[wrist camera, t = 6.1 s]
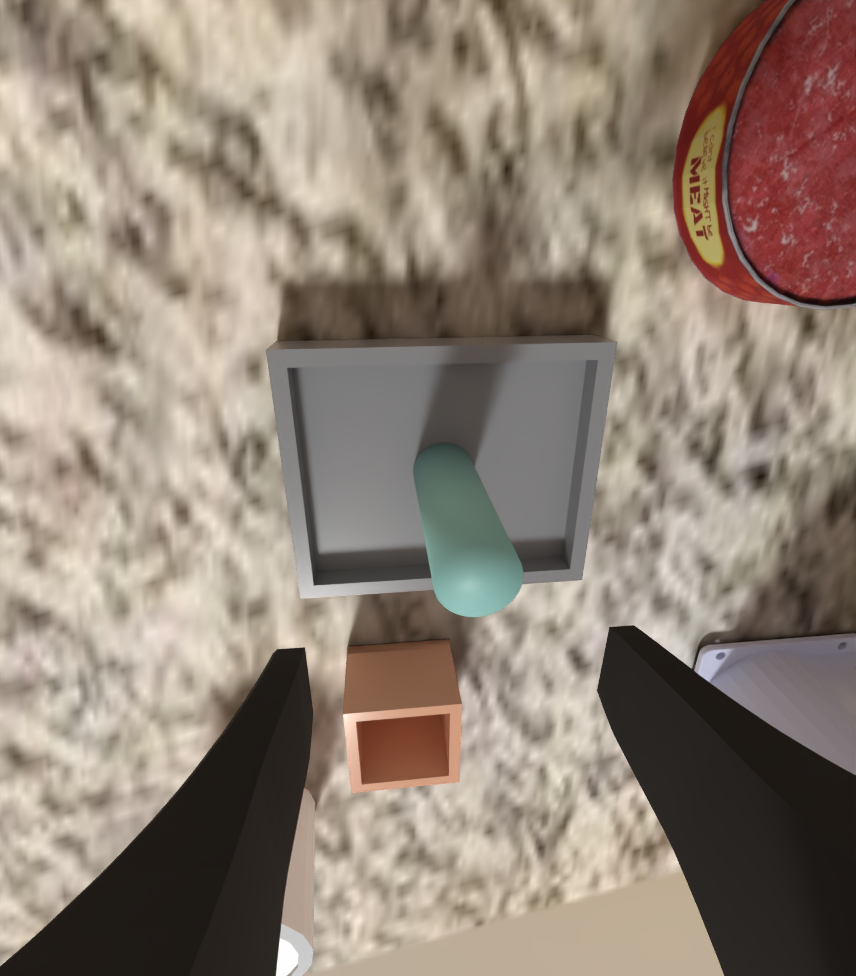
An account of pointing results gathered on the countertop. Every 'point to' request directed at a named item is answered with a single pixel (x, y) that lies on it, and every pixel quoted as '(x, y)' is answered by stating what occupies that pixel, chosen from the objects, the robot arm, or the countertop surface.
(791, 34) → the canned food
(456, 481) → the pin
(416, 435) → the tray
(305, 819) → the white short cylinder
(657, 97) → the countertop surface
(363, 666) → the open box
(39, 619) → the countertop surface
